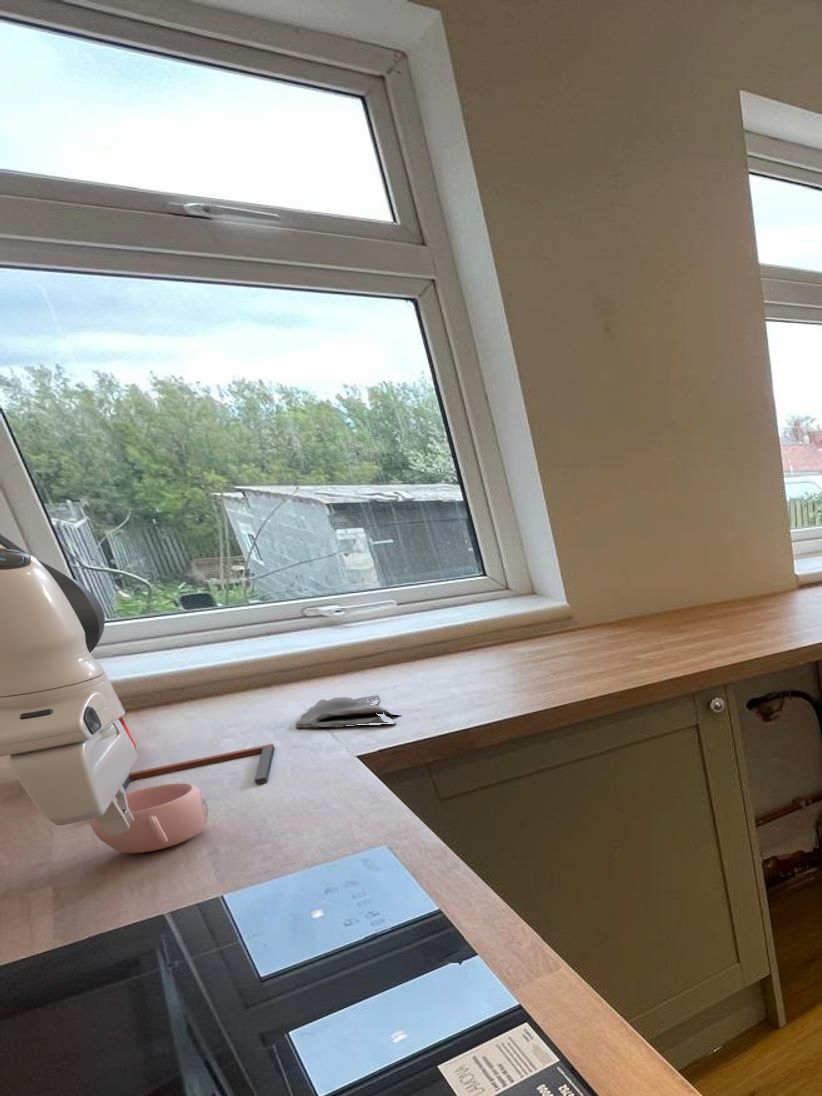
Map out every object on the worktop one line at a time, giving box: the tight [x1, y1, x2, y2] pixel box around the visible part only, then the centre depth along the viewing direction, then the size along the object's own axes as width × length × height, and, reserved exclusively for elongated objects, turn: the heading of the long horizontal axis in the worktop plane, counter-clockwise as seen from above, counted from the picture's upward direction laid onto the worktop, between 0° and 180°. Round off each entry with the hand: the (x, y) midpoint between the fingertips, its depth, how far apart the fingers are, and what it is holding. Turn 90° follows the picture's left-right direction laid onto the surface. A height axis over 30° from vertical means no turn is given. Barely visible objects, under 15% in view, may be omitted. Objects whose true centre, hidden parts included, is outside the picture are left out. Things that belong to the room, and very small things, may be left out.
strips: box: [122, 743, 275, 791], centre depth 118 cm, size 18×17×1 cm
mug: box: [89, 782, 209, 854], centre depth 98 cm, size 12×10×6 cm
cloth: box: [294, 694, 392, 729], centre depth 142 cm, size 26×14×2 cm, turn 45°
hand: (122, 829), depth 88 cm, fingers closed
